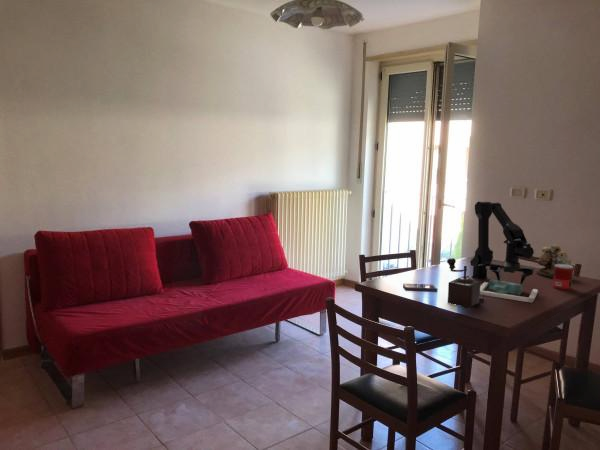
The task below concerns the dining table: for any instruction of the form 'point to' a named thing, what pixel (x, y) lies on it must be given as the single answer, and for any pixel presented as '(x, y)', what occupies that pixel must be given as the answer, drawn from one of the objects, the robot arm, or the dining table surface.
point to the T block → (505, 287)
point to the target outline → (506, 296)
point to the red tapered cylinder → (562, 276)
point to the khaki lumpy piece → (551, 260)
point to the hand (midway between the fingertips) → (509, 286)
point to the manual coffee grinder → (462, 288)
